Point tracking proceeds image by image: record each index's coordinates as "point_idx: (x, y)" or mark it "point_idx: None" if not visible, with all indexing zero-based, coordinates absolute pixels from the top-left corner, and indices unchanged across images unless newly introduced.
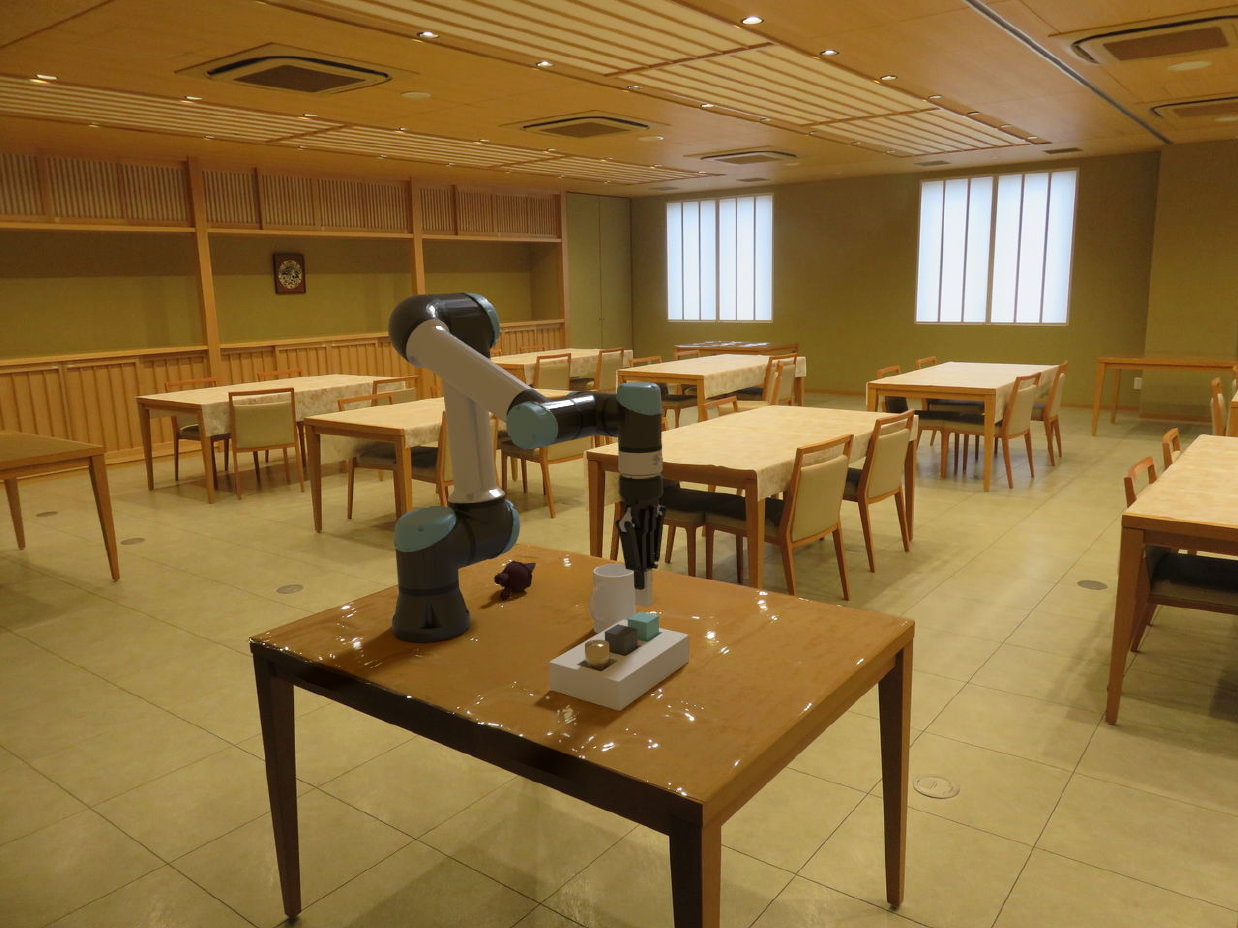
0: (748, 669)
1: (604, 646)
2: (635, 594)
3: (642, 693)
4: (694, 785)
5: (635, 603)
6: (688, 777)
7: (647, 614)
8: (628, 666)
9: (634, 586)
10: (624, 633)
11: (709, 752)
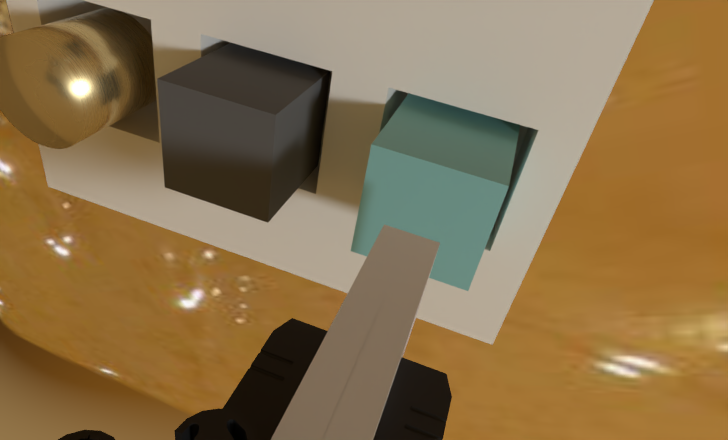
0: (488, 413)
1: (42, 134)
2: (358, 273)
3: None
4: (19, 320)
5: (381, 231)
6: (28, 311)
7: (471, 235)
8: (142, 188)
9: (274, 331)
10: (193, 180)
11: (105, 336)
